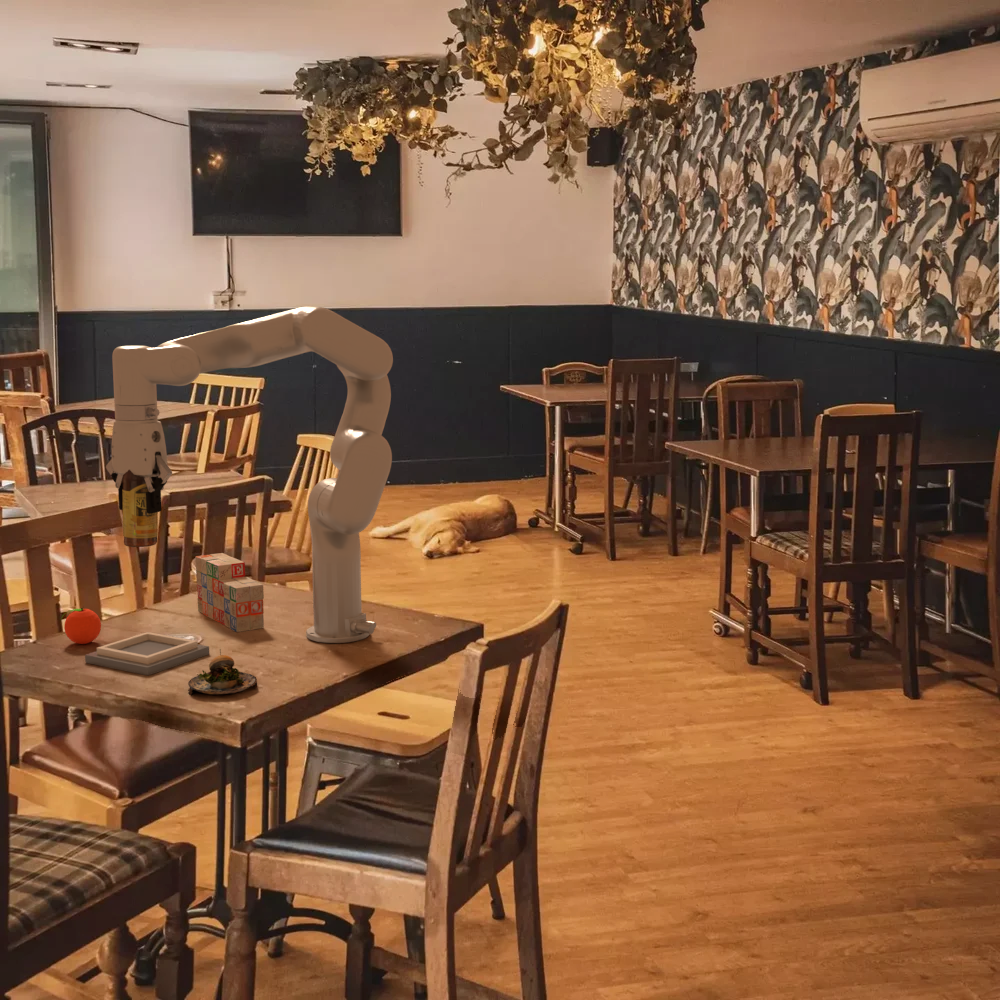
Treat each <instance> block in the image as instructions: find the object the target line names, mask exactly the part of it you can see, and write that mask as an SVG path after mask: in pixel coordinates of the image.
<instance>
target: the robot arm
mask: <svg viewBox="0 0 1000 1000" xmlns="http://www.w3.org/2000/svg"><path fill="white" fill-rule="evenodd" d="M309 352H313V353H315V354H317V355H319V356H320V357H322V358H324V359H326V360H328V361H329V362H331V363H333V364H335V365H336V368H337V369H338V370H339V371H340V372H341V373H342V375H343V377H344V379H345V382H346V386H347V387H346V388H347V396H346V400H345V404H344V408H343V413H342V415H341V418H340V420H339V423H338V425H337V429H336V432H335V435H334V438H333V440H332V442H331V445H330V450H329V456H330V460H331V463H332V465H333V466H335V468H336V469H338V470H339V472H338V475H337V477H329V478H325V479H322V480H320V481H319V482H317V483H316V484H315V485H314V486H313V487H312V489H311V491H310V493H309V495H308V500H307V513H308V514H307V515H308V521H309V527H310V528H309V529H310V535H311V538H310V539H311V563H312V569H311V571H312V572H311V573H312V598H313V599H312V601H313V603H312V604H313V605H312V606H313V607H312V608H313V609H312V611H313V625H312V626H310V627H308V628H307V629H306V631H305V635H306V638H307V639H308V640H311V641H313V642H318V643H325V644H342V643H344V644H345V643H351V642H352V643H353V642H357V641H358V642H359V641H361V640H364V639H366V638H367V637H369V636H370V635H371V634H373V633H374V632H375V629H376V628H377V623H376V622H375V621H368V620H367V613H365V612H362V611H363V610H362V571H361V570H362V565H361V564H362V563H361V562H362V561H361V559H362V558H361V554H362V553H361V549H362V548H361V538H360V533H362V531H364V530H366V529H367V527H368V526H369V525H370V524H371V523H372V521H373V519H374V517H375V515H376V512H377V509H378V508H379V507H378V506H379V504H380V501H381V500H382V499H381V498H382V495H383V493H384V489H385V487H386V483H387V480H388V477H389V475H390V472H391V469H392V462H393V453H392V449H391V446H390V444H389V442H388V440H387V439H386V438H385V437H384V436H383V435H382V434H383V431H384V428H385V425H386V420H387V418H388V414H389V411H390V405H391V401H392V400H391V398H392V391H391V384H390V380H389V377H388V374H389V372H390V371H391V369H392V367H393V363H394V358H393V352H392V349H391V347H390V346H389V344H388V343H387V342H386V341H385V340H384V339H382V338H381V337H379V336H377V335H376V334H374V333H372V332H370V331H368V330H367V329H365V328H363V327H362V326H360V325H357V324H356V323H354V322H352V321H350V320H349V319H347V318H345V317H343V316H342V315H341V314H338V313H336V312H335V311H332V310H331V309H328V308H326V307H322V306H313V305H311V306H309V305H308V306H301V307H297V308H293V309H289V310H284V311H282V312H281V311H280V312H277V313H273V314H271V315H270V314H269V315H266V316H262V317H258V318H254V319H252V320H247V321H243V322H240V323H239V322H238V323H235V324H231V325H227V326H225V327H220V328H217V329H213V330H208V331H204V332H199V333H196V334H193V335H191V334H190V335H188V336H184V337H179V338H175V339H173V340H168V341H166V342H163V343H161V344H159V345H157V346H156V347H151V346H147V345H122V346H121V345H120V346H117V347H116V348H114V350H113V352H112V356H111V357H112V358H111V359H112V376H113V378H112V379H113V400H114V418H115V419H114V421H113V425H112V432H111V433H112V434H111V459H110V460H109V461H108V463H107V464H106V466H105V468H106V470H107V472H108V473H109V475H110V477H111V479H112V480H113V482H114V483H115V484H114V486H115V488H116V489H117V493H118V509H119V510H121V511H123V491H122V489H123V475H124V474H125V473H126V472H127V471H128V470H130V471H131V472H132V473H133V474H134V475H137V476H141V477H144V479H145V482H146V485H147V488H148V490H149V492H146V509H147V513H149V514H151V513H156V512H158V513H160V512H161V511H162V510H163V509H162V491H163V490H164V487H165V485H166V484H167V483H168V480H169V479H170V478H171V476H172V475H173V471H172V469H171V468H170V467H169V465H168V455H167V446H166V438H165V433H164V429H163V425H162V422H161V421H159V420H158V419H159V418H158V417H159V416H160V410H159V409H158V399H157V398H158V396H157V395H158V394H157V391H158V390H157V385H166V386H167V385H168V386H176V387H182V386H187V385H189V384H191V383H194V381H195V380H197V379H198V377H199V376H200V374H204V373H205V374H206V373H207V372H213V371H218V370H225V369H244V368H245V369H246V368H253V367H254V368H255V367H258V366H262V365H265V364H266V365H267V364H269V363H273V362H276V361H280V360H282V359H287V358H290V357H294V356H299V355H302V354H304V353H309ZM152 473H153V474H152ZM152 478H154V483H153V481H152Z"/></svg>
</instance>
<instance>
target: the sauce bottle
mask: <svg viewBox="0 0 1000 1000" xmlns="http://www.w3.org/2000/svg"><path fill="white" fill-rule="evenodd" d="M152 474H153V473H152ZM152 481H153V483H154V478H152ZM122 491H123V510H122V537H123V544H124V546H126V547H130V548H147V547H152V546H155V545H156V544H157V543H158V535H159V532H158V531H159V530H158V529H159V528H158V527H159V526H158V521H159V520H158V519H159V517H158V515H159V514H158V513H159V512H156V513H151V514H149V513H147V509H146V492H149V490H148V488H147V485H146V482H145V479H144V477H141V476H137V475H134V474H133V473H132V472H131V471H130V470H128V471H127V472H126V473H125V474H124V475H123V489H122Z"/></svg>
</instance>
